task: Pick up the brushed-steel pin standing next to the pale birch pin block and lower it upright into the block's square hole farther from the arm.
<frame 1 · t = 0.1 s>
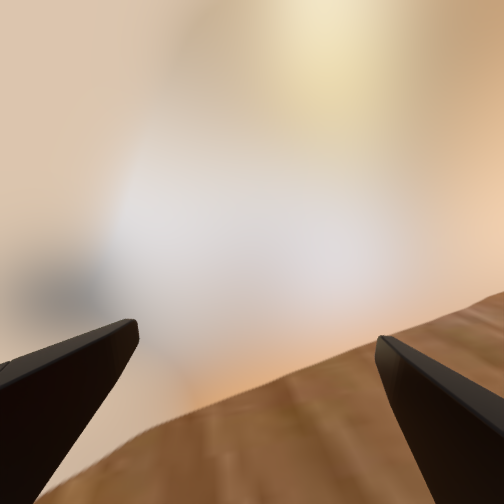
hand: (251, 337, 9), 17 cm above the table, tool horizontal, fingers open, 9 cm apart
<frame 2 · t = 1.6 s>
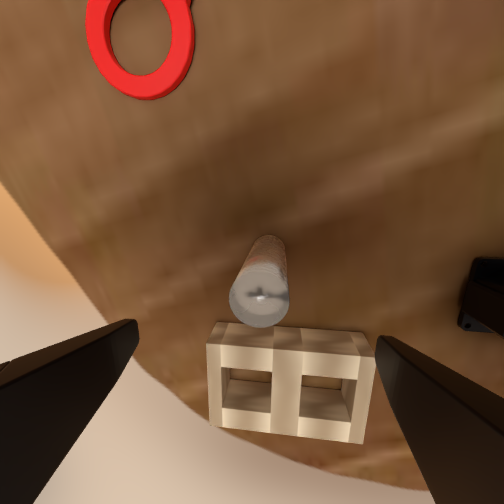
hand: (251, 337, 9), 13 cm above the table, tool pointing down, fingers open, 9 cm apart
pin block: (285, 366, 24), on the table
tow hook: (147, 35, 18), on the table
metal pin: (268, 251, 21), on the table
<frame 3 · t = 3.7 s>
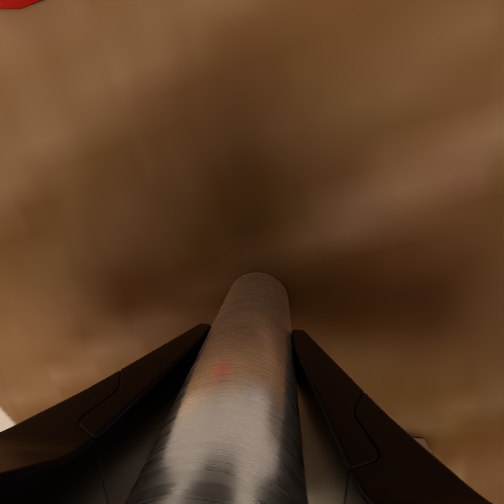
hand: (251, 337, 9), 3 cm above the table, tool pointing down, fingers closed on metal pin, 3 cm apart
metal pin: (257, 300, 12), on the table, touching gripper
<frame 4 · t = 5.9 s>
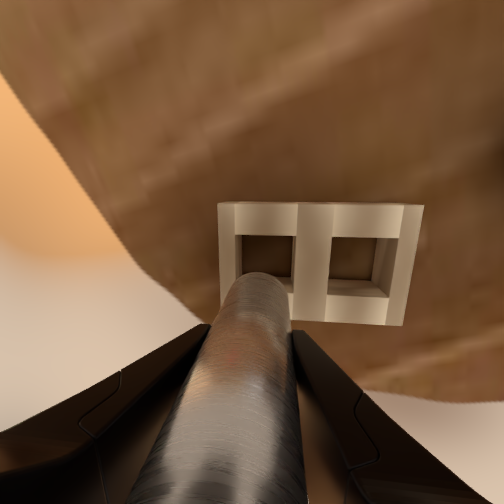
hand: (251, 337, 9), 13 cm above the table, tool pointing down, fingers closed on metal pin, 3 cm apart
pin block: (306, 254, 21), on the table
metal pin: (257, 300, 12), point 10 cm above the table, touching gripper
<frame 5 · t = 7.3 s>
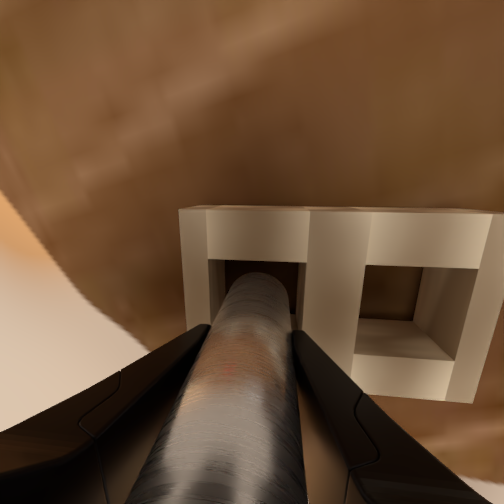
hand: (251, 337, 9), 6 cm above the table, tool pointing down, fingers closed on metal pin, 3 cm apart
pin block: (318, 282, 14), on the table
metal pin: (257, 300, 12), point 3 cm above the table, touching gripper
when the fingers open (4 cm above the table, at t = 8.4 s): metal pin drops 1 cm, resting in pin block.
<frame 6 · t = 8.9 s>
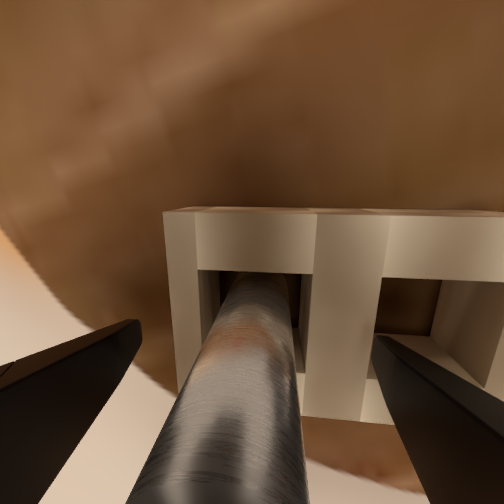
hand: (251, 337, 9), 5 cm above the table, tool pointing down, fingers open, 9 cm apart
pin block: (324, 292, 13), on the table
metal pin: (260, 288, 13), resting in pin block
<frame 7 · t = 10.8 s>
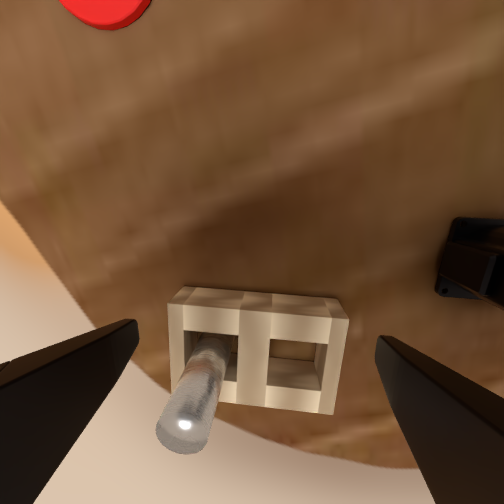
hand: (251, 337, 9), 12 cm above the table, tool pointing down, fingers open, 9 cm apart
pin block: (255, 335, 23), on the table
metal pin: (220, 331, 23), resting in pin block
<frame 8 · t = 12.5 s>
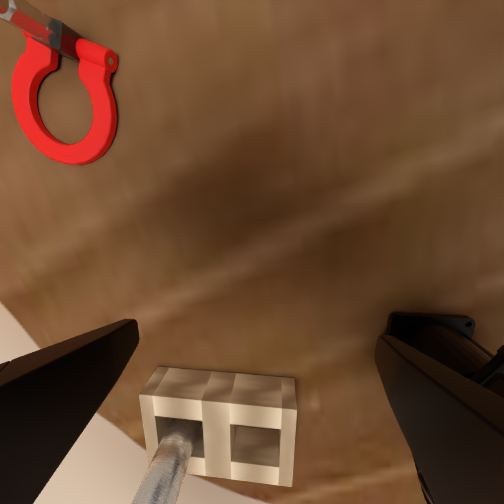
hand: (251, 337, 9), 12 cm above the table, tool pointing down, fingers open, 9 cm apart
pin block: (225, 407, 25), on the table
tow hook: (73, 105, 19), on the table
metal pin: (193, 404, 25), resting in pin block
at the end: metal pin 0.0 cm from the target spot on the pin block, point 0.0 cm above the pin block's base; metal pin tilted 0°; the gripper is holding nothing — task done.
